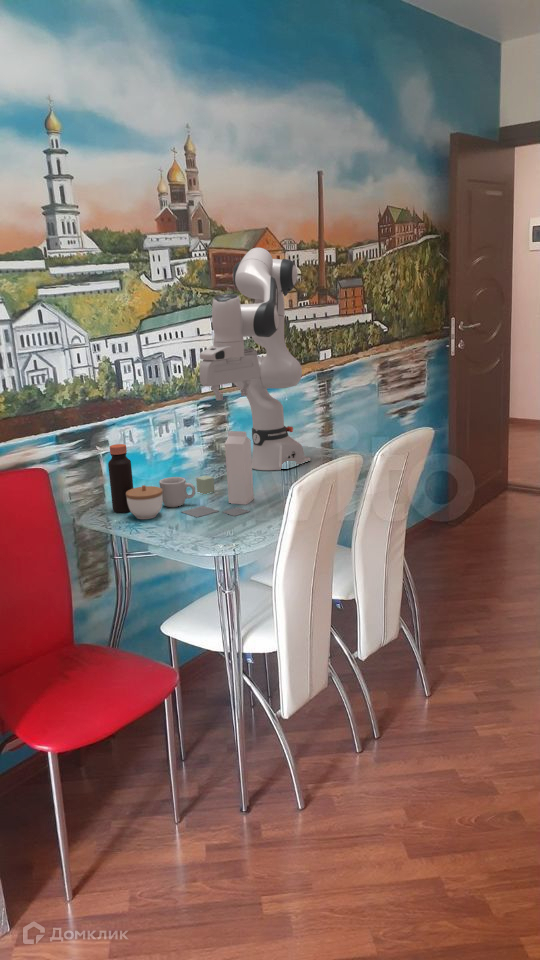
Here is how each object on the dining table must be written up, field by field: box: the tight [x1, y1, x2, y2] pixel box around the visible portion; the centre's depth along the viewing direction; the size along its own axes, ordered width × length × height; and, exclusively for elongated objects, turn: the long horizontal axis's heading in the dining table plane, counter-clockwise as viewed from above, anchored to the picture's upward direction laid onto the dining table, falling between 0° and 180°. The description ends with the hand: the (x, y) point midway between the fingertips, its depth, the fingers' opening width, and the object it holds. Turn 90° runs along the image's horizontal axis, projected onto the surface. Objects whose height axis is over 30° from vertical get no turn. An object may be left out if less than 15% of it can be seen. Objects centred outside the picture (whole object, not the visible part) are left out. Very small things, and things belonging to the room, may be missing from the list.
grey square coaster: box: [222, 506, 251, 517], centre depth 245 cm, size 6×6×1 cm
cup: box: [159, 476, 196, 508], centre depth 254 cm, size 11×8×8 cm
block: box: [195, 475, 216, 495], centre depth 267 cm, size 4×4×5 cm
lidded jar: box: [126, 484, 164, 520], centre depth 244 cm, size 11×11×9 cm
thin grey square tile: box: [181, 505, 219, 518], centre depth 247 cm, size 8×8×1 cm
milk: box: [224, 430, 255, 505], centre depth 253 cm, size 6×6×22 cm
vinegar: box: [107, 443, 134, 514], centre depth 251 cm, size 7×7×20 cm
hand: (232, 397), depth 247 cm, fingers open, 8 cm apart
